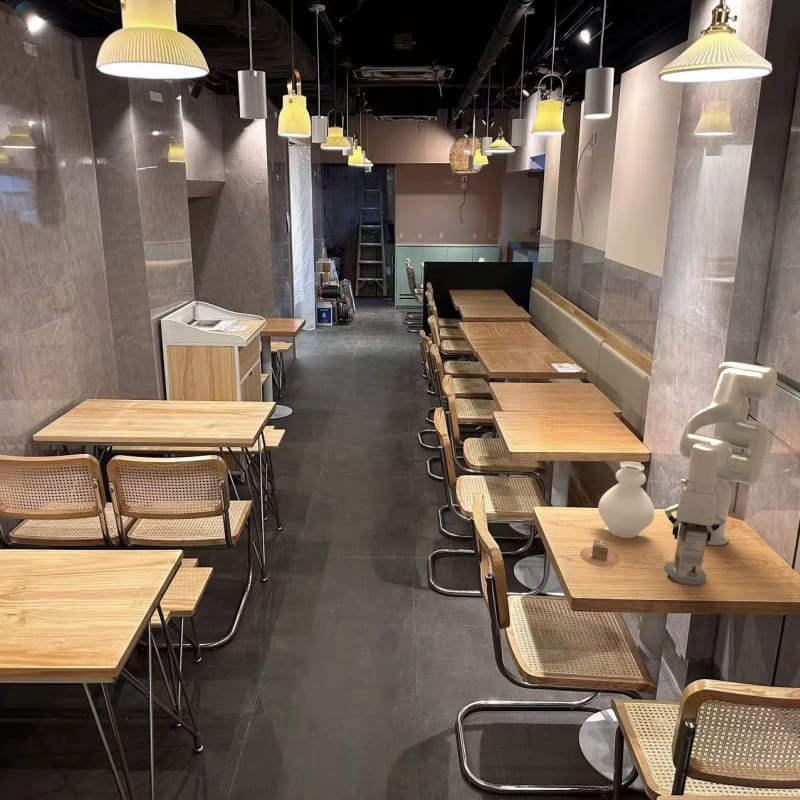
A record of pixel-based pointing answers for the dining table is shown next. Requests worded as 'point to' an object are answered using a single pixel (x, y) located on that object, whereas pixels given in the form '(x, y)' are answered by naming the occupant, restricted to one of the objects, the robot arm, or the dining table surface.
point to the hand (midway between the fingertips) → (690, 539)
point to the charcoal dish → (673, 576)
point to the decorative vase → (627, 503)
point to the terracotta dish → (587, 556)
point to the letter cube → (600, 549)
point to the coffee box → (690, 550)
